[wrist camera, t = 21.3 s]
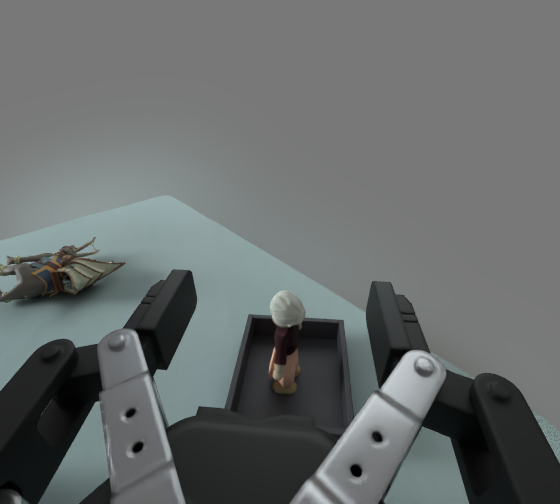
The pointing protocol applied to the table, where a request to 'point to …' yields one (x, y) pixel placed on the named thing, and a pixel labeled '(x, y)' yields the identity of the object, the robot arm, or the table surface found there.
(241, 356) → the pan
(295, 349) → the grandmother figurine
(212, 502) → the robot arm
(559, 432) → the table surface
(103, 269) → the figurine
